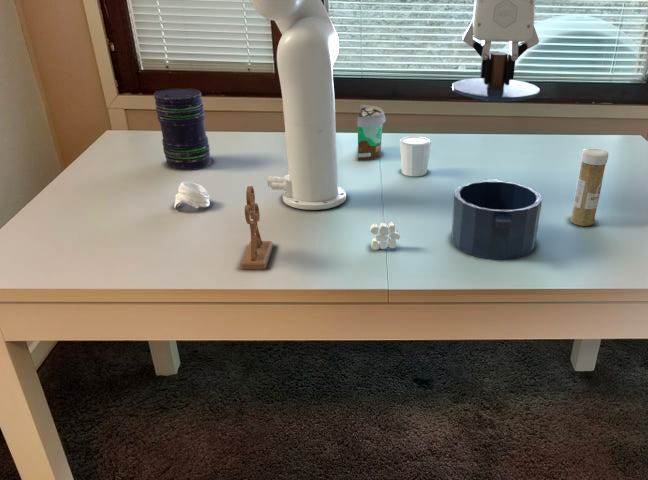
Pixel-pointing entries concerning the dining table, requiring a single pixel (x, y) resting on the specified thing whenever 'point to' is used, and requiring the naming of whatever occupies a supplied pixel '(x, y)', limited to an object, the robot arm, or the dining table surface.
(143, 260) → the dining table surface
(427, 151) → the white cup
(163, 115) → the storage jar
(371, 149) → the food container
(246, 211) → the brown upright openwork piece
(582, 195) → the sprinkles bottle
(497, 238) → the pot
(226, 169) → the dining table surface
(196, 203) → the whipped cream
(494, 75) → the pot lid
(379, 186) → the dining table surface
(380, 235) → the white marshmallow cluster
